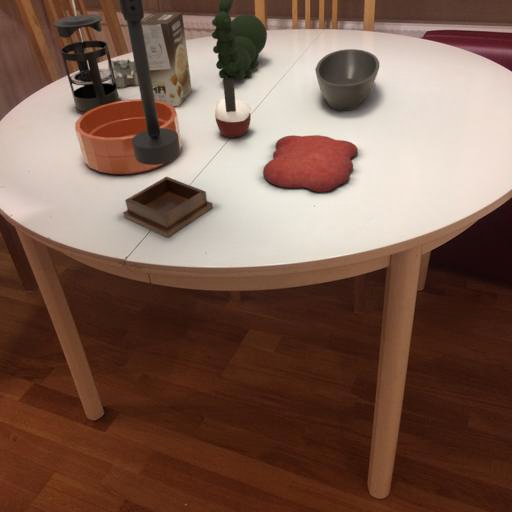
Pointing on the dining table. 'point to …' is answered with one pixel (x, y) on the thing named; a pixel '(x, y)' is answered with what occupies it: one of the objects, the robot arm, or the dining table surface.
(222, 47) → the green topiary foliage
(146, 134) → the black plunger
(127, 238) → the dining table surface
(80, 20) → the french press
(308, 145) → the patty
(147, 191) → the small square brown tray
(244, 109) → the cocoa
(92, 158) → the orange round dish
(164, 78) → the coffee box
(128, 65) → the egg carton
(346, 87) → the bowl
